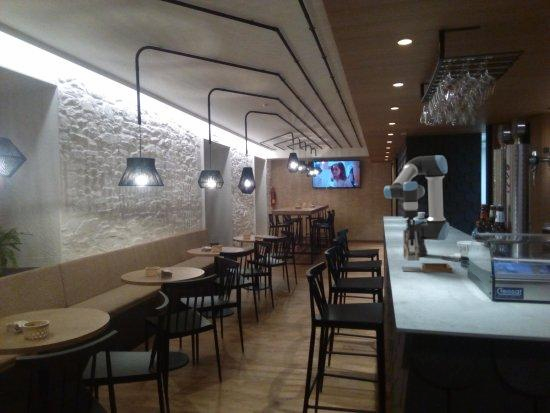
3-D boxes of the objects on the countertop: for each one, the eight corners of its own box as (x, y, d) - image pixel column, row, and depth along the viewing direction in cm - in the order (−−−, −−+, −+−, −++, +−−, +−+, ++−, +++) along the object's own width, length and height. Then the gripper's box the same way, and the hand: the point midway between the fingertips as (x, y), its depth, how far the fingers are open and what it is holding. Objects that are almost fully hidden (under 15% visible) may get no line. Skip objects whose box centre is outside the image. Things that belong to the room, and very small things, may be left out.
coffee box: (419, 260, 232) (419, 231, 231) (407, 260, 232) (407, 231, 231) (414, 257, 241) (414, 229, 240) (403, 258, 241) (402, 229, 240)
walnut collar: (421, 267, 242) (421, 263, 242) (448, 267, 239) (448, 263, 239) (424, 272, 229) (424, 267, 229) (452, 273, 225) (452, 268, 225)
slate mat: (401, 267, 244) (401, 266, 244) (420, 267, 242) (420, 266, 241) (402, 271, 232) (402, 270, 232) (422, 272, 230) (422, 271, 230)
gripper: (402, 208, 247) (403, 247, 248) (404, 211, 225) (405, 253, 226) (416, 208, 245) (416, 247, 246) (419, 210, 223) (420, 253, 224)
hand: (411, 250), depth 236 cm, fingers closed on coffee box, 10 cm apart
